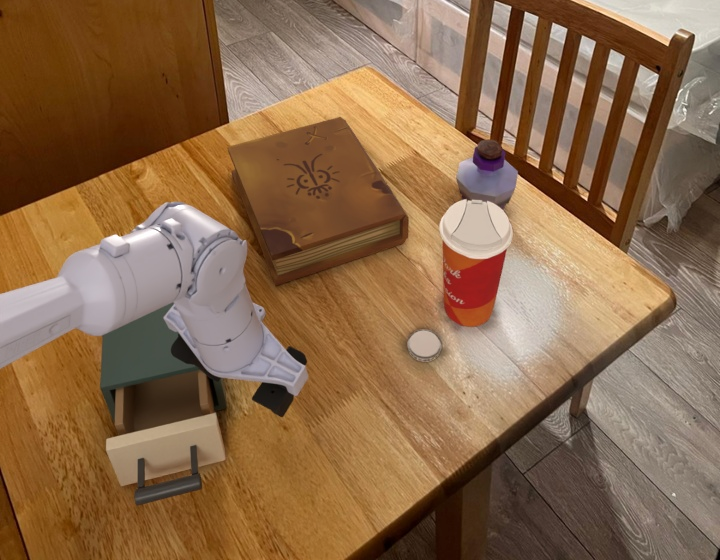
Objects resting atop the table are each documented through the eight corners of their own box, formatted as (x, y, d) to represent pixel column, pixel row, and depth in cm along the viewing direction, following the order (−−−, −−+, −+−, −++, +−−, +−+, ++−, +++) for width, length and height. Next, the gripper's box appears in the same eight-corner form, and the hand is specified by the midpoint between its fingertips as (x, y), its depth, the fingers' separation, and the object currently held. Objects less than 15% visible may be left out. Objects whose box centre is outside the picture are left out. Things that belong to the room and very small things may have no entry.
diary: (408, 242, 99) (408, 212, 96) (275, 286, 93) (271, 255, 90) (346, 143, 116) (345, 114, 113) (232, 174, 111) (227, 145, 108)
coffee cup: (436, 277, 94) (441, 192, 85) (501, 283, 93) (513, 198, 84) (432, 332, 87) (437, 246, 79) (502, 339, 86) (515, 253, 78)
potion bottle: (525, 206, 104) (534, 141, 97) (495, 242, 99) (503, 176, 92) (472, 181, 109) (478, 117, 102) (441, 215, 103) (444, 150, 96)
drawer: (230, 502, 71) (220, 466, 67) (119, 531, 69) (103, 495, 65) (215, 355, 84) (207, 318, 80) (123, 376, 82) (110, 339, 78)
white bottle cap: (443, 335, 87) (444, 332, 86) (438, 364, 84) (438, 361, 83) (410, 329, 88) (410, 325, 87) (404, 357, 84) (404, 354, 84)
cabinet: (227, 408, 80) (216, 361, 75) (118, 434, 78) (99, 387, 73) (216, 308, 91) (207, 262, 86) (120, 329, 89) (105, 282, 84)
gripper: (316, 309, 61) (337, 385, 70) (184, 248, 67) (219, 324, 76) (269, 383, 57) (297, 454, 66) (132, 310, 63) (175, 383, 72)
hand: (252, 389), depth 71 cm, fingers open, 7 cm apart
